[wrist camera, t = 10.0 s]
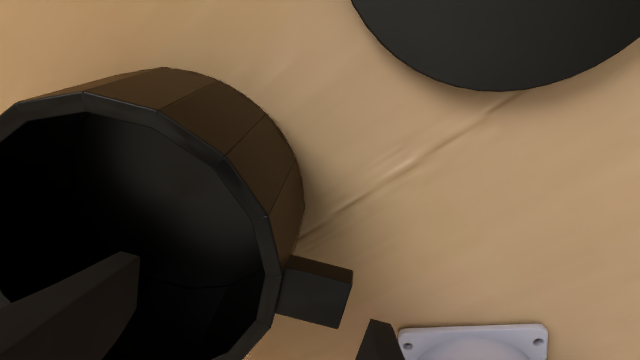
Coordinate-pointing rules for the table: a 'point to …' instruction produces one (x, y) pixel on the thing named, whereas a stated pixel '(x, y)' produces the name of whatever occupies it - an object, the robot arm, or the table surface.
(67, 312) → the robot arm
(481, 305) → the table surface
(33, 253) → the cooker
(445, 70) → the cooker lid
